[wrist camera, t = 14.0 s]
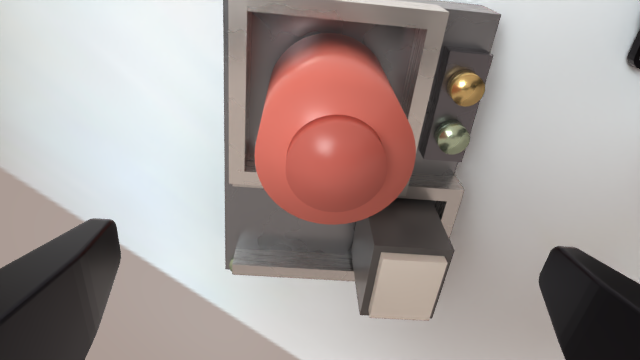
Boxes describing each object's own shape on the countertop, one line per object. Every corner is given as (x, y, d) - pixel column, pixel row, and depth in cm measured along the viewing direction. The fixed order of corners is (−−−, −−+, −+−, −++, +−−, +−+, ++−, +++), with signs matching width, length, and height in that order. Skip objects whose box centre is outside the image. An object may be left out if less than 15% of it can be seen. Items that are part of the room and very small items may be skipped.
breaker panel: (485, 3, 18) (522, 19, 15) (415, 256, 24) (431, 303, 21) (231, -25, 17) (215, -13, 14) (231, 245, 24) (220, 292, 21)
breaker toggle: (428, 192, 20) (457, 257, 16) (411, 254, 22) (434, 326, 18) (361, 187, 19) (376, 252, 16) (350, 251, 21) (360, 322, 17)
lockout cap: (396, 39, 16) (438, 98, 11) (375, 149, 19) (401, 241, 13) (271, 26, 16) (255, 81, 11) (266, 140, 18) (250, 231, 13)
